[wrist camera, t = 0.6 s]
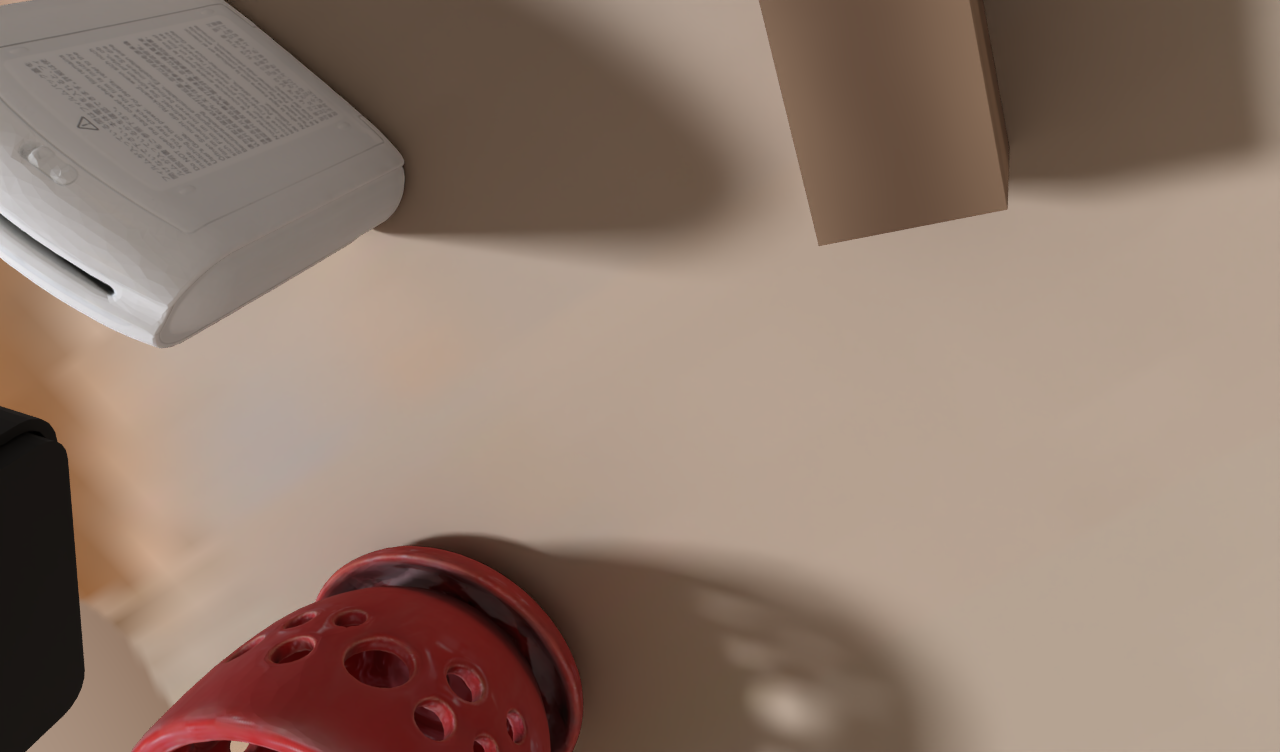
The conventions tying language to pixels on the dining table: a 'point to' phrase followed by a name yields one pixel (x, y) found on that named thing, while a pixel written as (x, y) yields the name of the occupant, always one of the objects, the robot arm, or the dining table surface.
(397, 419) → the dining table surface
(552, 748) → the plant pot
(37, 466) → the robot arm
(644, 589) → the dining table surface
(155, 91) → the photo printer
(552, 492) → the dining table surface
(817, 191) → the brown cardboard carton
